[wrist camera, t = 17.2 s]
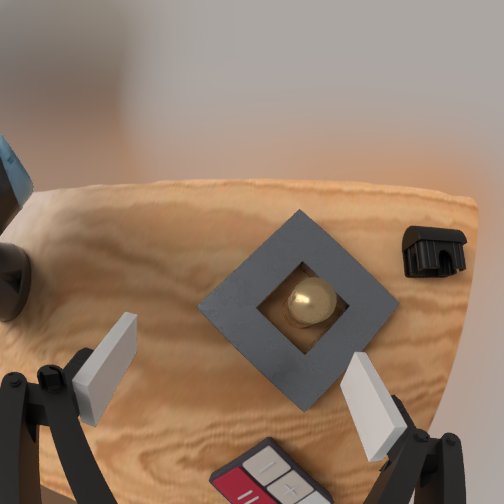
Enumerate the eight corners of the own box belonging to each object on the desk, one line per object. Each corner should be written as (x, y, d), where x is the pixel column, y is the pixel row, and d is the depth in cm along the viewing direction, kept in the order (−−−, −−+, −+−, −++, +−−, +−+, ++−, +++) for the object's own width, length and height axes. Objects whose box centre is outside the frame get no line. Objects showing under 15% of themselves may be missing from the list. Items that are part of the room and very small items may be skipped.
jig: (200, 309, 41) (196, 306, 38) (296, 217, 45) (299, 209, 42) (300, 407, 37) (304, 412, 34) (390, 306, 41) (399, 303, 38)
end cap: (443, 238, 44) (464, 224, 38) (448, 277, 42) (471, 267, 36) (397, 235, 45) (416, 219, 38) (402, 277, 42) (423, 266, 36)
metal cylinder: (275, 310, 41) (282, 300, 31) (299, 286, 42) (313, 268, 33) (300, 335, 40) (315, 332, 30) (324, 309, 41) (345, 298, 31)
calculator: (270, 441, 32) (336, 504, 28) (269, 433, 36) (330, 493, 32) (206, 482, 30) (274, 542, 26) (211, 472, 34) (274, 529, 30)
